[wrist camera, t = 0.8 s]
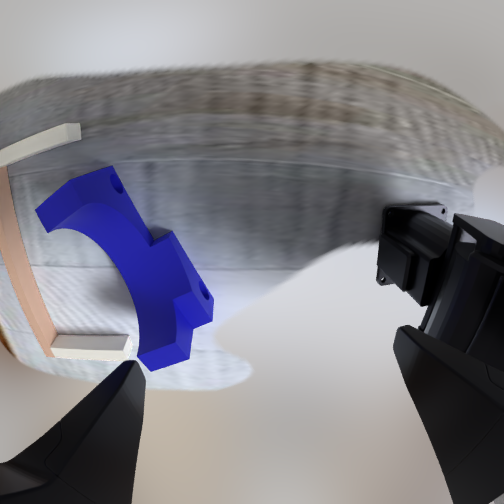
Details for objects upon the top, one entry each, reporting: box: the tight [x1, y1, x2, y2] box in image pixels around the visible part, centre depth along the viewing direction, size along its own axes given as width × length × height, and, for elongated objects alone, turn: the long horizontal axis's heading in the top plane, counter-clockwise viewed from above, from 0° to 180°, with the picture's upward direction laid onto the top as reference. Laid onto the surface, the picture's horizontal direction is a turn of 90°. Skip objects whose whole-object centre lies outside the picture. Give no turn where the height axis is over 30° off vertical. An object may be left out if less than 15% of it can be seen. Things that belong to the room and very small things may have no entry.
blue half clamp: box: [35, 166, 214, 372], centre depth 17 cm, size 12×4×6 cm, turn 25°
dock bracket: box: [0, 123, 133, 361], centre depth 18 cm, size 9×18×2 cm, turn 4°
